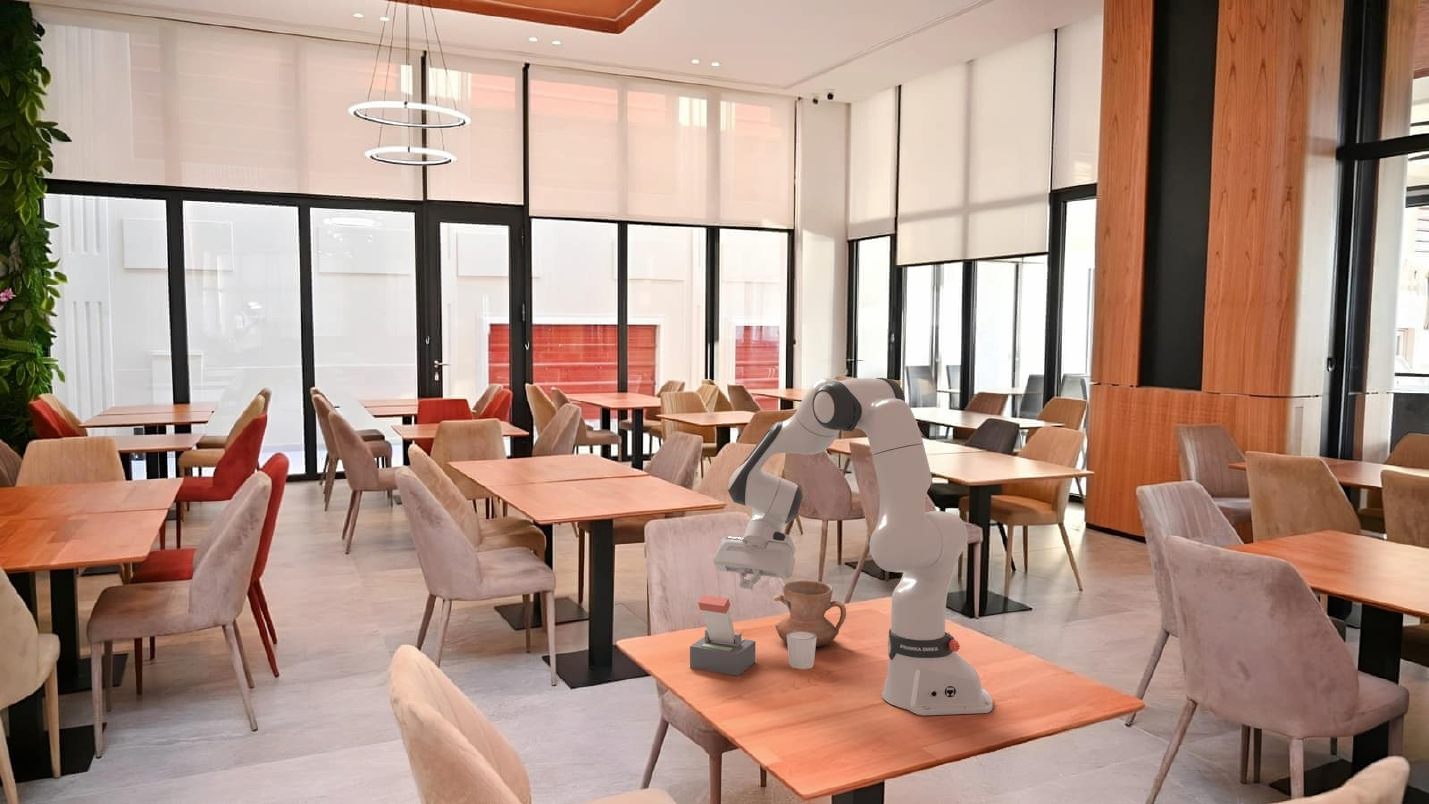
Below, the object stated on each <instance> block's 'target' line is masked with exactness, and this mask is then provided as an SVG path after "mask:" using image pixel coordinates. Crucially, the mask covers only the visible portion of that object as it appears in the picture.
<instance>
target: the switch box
mask: <svg viewBox="0 0 1429 804" xmlns="http://www.w3.org/2000/svg"><path fill="white" fill-rule="evenodd" d="M754 662H755V663H756V640H751V639H746V638H745V639H744V638H742V632H737V633H735V644H729V643H723V642H716V641H711V640H710V638H709V634H708V631H707V628H706V629H705V630H704V636H703V637H702V638H700V639H699V640H698V641H696V642H695V643H692V644H691V645H690V646H689V668H690V669H694V670H695V669H696V670H700V669H702V671H706V672H707V671H708V672H714V673H719V674H725V675H730V676H734V677H735V676H736V677H738V676H740V675H741V674H743V673H744V672H745V671H746V670H747V669H749V668H750V667H751V666H752V665H754V664H755V663H754ZM753 663H754V664H753ZM745 669H746V670H745ZM744 670H745V671H744Z"/></svg>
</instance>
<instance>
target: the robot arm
mask: <svg viewBox="0 0 1429 804" xmlns="http://www.w3.org/2000/svg"><path fill="white" fill-rule="evenodd" d="M918 425H919V424H918V422H917V420H916V417H915V414H914V413H913V411H912V409H911V407H910V405H909V404H908V403H907V402H906V397H905V394H904V391H903V389H902V387H901V386H900V384H899V383H898V382H896V381H895V380H893V379H890V378H886V377H875V378H860V377H855V378H847V379H843V380H838V379H836V378H831V377H823V378H821V379H818V380H816V382H814V384H812V386H811V387H810V388H809V389H808V391H807V392H806V394H805V395H804V397H803V398H802V399H801V402H800V403H799V405H798V407H797V409H796V411H795V413H794V414H793V415H792V416H790V417H789V418H787V419H786V420H783V421H781V420H780V421H777V422H775V423H774V424H773V425H772V426H771V427H770V428H769V429H768V430H767V431H766V433H765V434H764V435H763V436H762V438H760V440H759V442H758V443H757V444H756V446H754V448H753V450H751V452H750V453H749V455H748V456H747V457H746V458H745V460H744V461H743V462H742V463H741V464H739V466H738V467H737V468H736V470H735V471H733V473H732V475H731V477H730V478H729V481H728V484H727V485H728V487H727V492H728V494H729V496H730V498H731V500H732V502H733V503H735V504H738V505H742V506H746V507H749V508H751V509H752V510H751V519H750V520H748V523H747V525H746V528H745V531H744V534H743V537H739V536H738V537H735V536H727V537H725V538H723V539H721V540H720V543H719V546H718V549H717V550H716V552H715V554H714V557H713V560H712V561H713V565H714V567H715V568H716V570H717V571H719V572H720V571H721V572H729V573H730V572H731V573H738V574H739V578H740V580H739V583H738V584H739V585H738V586H739V588H740V589H743V590H745V589H746V590H753V587H754V585H755V584H756V583H757V582H758V581H760V579H761V577H762V576H763V577H771V578H778V579H789V578H790V577H792V575H793V573H794V568H795V563H796V562H795V561H796V559H795V556H794V555H795V553H796V547H795V544H794V542H793V540H792V538H791V536H790V535H789V534H787V533H784V532H782V527H783V526H784V525H786V524H788V523H790V522H792V521H794V520H795V519H796V518H797V517H798V514H799V510H800V507H801V503H802V500H803V498H804V495H803V492H802V490H801V488H800V486H799V485H798V484H796V483H794V482H792V481H790V480H789V479H786V478H784V477H781V476H777V475H775V474H772V473H769V472H768V471H765V470H763V469H762V468H763V467H764V466H765V464H767V462H768V461H769V460H770V458H771V457H772V456H774V455H776V454H796V455H797V454H798V455H802V456H803V455H804V456H810V455H817V454H821V453H823V452H825V451H827V449H829V448H830V447H831V446H832V444H833V443H834V442H835V440H836V439H837V437H838V435H839V433H840V432H842V431H843V432H850V433H851V432H853V431H854V430H855V429H858V430H861V431H862V432H863V433H865V435H866V436H867V437H866V438H867V439H868V444H869V448H870V453H871V458H872V461H873V467H874V470H875V474H876V475H875V476H876V481H877V484H878V492H879V510H878V519H877V523H876V527H875V528H874V530H873V532H872V533H871V535H870V538H869V551H870V555H871V558H872V559H873V560H872V561H874V563H875V564H876V565H877V566H878V567H879V568H880V569H882V570H884V571H885V572H893V573H902V576H901V578H900V581H899V582H898V584H897V585H896V586H895V588H894V589H893V591H892V596H891V614H890V615H891V618H890V620H891V621H890V625H891V626H890V629H889V631H888V637H887V654H888V658H889V660H888V668H887V673H886V677H885V678H886V679H885V682H884V686H883V689H882V693H881V697H882V699H883V700H885V702H887V703H888V704H891V706H892V705H893V706H895V707H898V708H901V709H905V710H908V711H909V712H911V713H914V714H916V715H918V716H937V715H938V716H940V715H941V716H944V715H962V714H963V715H966V714H968V715H969V714H972V715H973V714H988V713H990V712H991V711H992V710H993V708H994V704H993V703H994V702H993V698H992V696H991V695H990V692H988V690H986V688H984V687H982V682H981V678H980V674H979V673H978V671H977V669H976V668H975V666H973V665H972V664H971V663H970V662H969V661H967V660H966V659H965V658H964V657H962V656H961V655H960V654H958V653H957V652H958V651H959V650H960V648H961V646H960V644H959V641H957V640H956V639H955V637H954V636H953V635H952V634H951V633H950V632H949V631H948V632H947V631H946V613H947V611H946V610H947V609H946V608H947V598H948V592H949V589H950V584H951V581H952V579H953V578H952V577H953V574H954V571H955V567H956V565H957V563H958V560H959V558H960V556H961V555H962V553H963V552H964V550H965V549H966V547H967V545H968V542H969V531H968V528H967V526H966V523H965V522H964V521H963V520H962V518H961V517H960V516H958V515H957V514H955V513H953V512H948V511H942V510H931V511H926V502H927V501H926V498H927V493H928V490H930V489H929V488H930V487H931V485H932V481H933V478H932V472H931V468H930V464H929V461H928V456H927V453H926V449H925V444H924V441H923V438H922V437H923V436H922V434H921V431H920V427H919V426H918ZM748 575H752V576H751V578H750V579H746V578H747V576H748Z"/></svg>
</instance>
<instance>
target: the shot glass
mask: <svg viewBox="0 0 1429 804" xmlns="http://www.w3.org/2000/svg"><path fill="white" fill-rule="evenodd" d="M816 638H817V636H816V634H814V633H811V632H806V631H794V632H790V633H788V634H787V642H786V643H787V655H788V665H789V667H791V668H792V669H796V668H797V670H808V669H811V668H813V667H814V665H815V656H816Z"/></svg>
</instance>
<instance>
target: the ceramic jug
mask: <svg viewBox="0 0 1429 804" xmlns="http://www.w3.org/2000/svg"><path fill="white" fill-rule="evenodd" d="M782 593H783V594H776V595H774V596H773V600H774V601H775V602H777V601H778V602H781V603H782V604H784V605H785V606H786V607H787V609H788V611H789V615H787V616H786V617H784V618H783V619H781V621H780V622H777V624H775V625H774V626H775V630H776V631H777V635H778V637H779V638H780V639H781V640H782V641H783V642H785V643H787V634H788V633H790V632H794V631H806V632H811V633H814V634H816V636H817V638H816V647H822V646H825V645H828V644H830V643H831V642H833V641H834V640H835V639H836V637H837V636H838V635H839V632H840V631H839V630H840V629H841V627H842V625H843V624H844V622H845V621H846V616H847V609H846V606H845V604H844V603H843V602H841V601H839V600H832V596H833V593H834V592H833V587H832V585H831V584H828V583H826V582H822V581H818V580H809V579H808V580H806V579H805V580H802V579H801V580H793V581H792V580H791V581H788V582H785V583H784V585H783V586H782ZM831 600H832V601H831ZM833 607H834V608H835V607H837V608H839V609H840V617H839V618H838V619H839V620H838V622H837V624H836V626H835V625H834V623H832V622H831V621H830V620H829V619H828V618H827V617H826V616H825V614H826V612H827V611H829V610H830V609H831V608H833ZM816 647H815V648H816Z"/></svg>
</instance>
